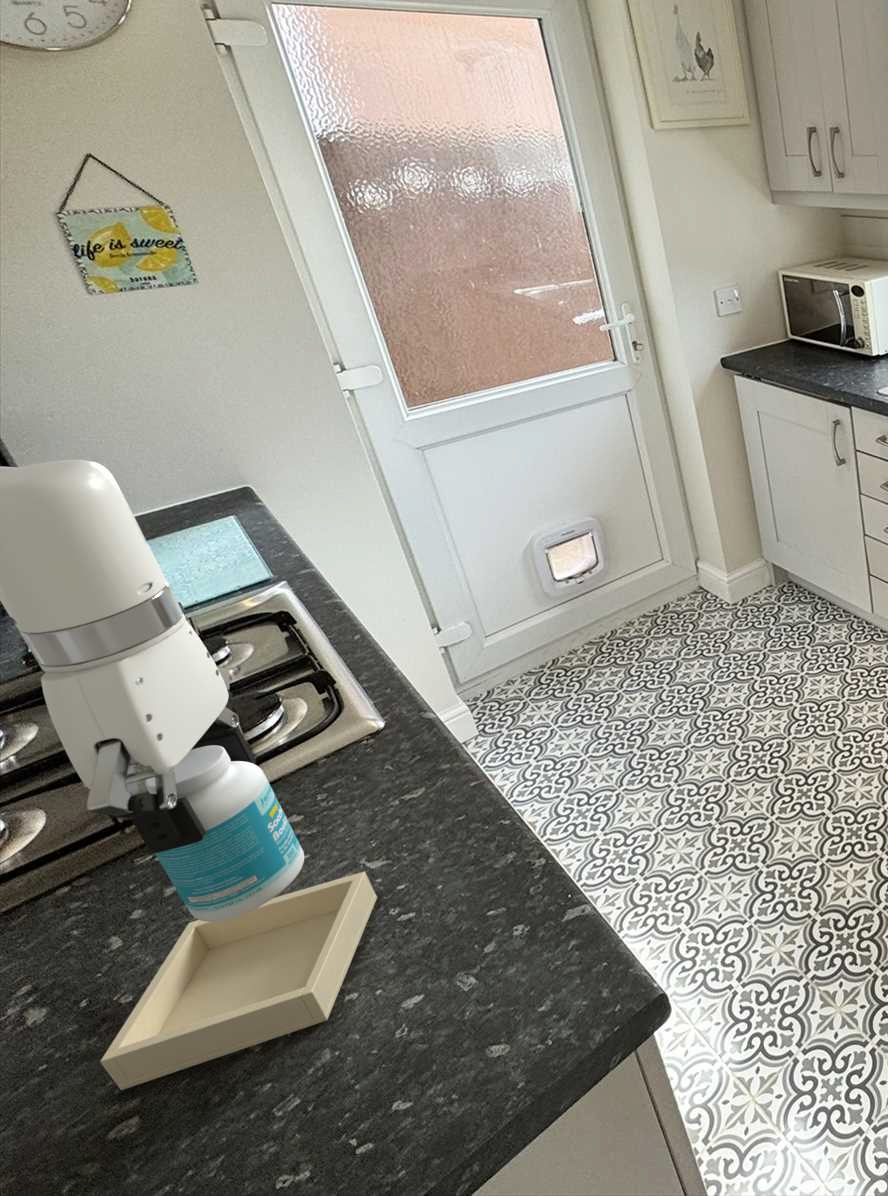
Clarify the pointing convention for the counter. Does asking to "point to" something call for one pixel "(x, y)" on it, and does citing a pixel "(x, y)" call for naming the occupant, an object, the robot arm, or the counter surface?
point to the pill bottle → (230, 837)
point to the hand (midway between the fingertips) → (207, 805)
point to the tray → (244, 981)
